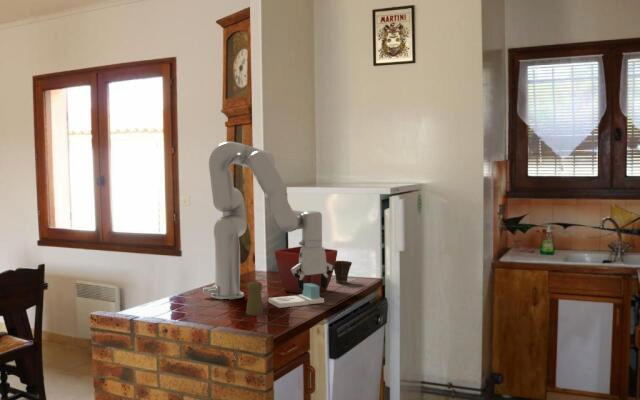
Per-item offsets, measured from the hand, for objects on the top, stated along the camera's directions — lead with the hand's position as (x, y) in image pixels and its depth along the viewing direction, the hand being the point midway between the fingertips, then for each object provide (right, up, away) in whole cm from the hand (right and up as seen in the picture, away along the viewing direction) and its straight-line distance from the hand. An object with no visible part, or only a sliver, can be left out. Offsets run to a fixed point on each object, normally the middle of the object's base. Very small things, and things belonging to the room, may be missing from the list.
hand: (312, 288), depth 223 cm
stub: (-1, -5, 0) cm, 5 cm away
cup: (+12, -3, +38) cm, 40 cm away
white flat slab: (-9, -5, -4) cm, 11 cm away
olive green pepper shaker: (-20, -6, -20) cm, 29 cm away
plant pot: (-3, -4, +19) cm, 20 cm away
